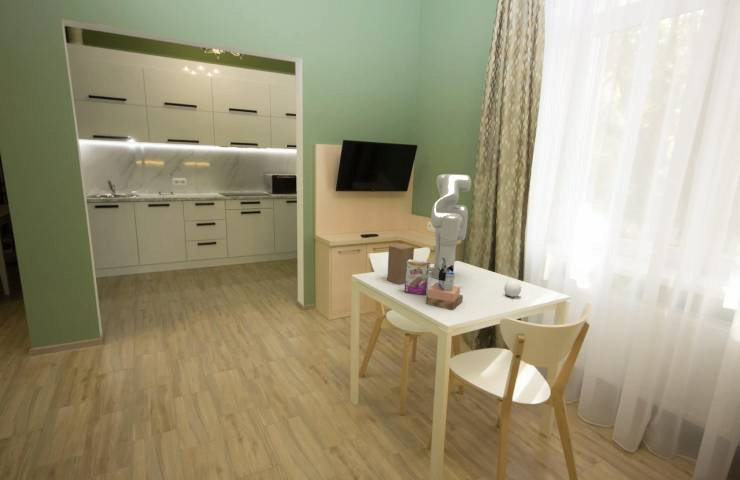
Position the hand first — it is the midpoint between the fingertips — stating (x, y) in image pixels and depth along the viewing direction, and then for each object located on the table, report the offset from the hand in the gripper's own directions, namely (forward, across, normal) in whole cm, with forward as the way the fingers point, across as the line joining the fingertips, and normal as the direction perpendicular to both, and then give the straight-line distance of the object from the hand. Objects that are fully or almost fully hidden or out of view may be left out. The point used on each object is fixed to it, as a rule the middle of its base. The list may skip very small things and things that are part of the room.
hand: (445, 278), depth 176 cm
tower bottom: (+13, 0, 0) cm, 13 cm away
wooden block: (+13, -17, -33) cm, 39 cm away
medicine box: (+5, 0, 0) cm, 5 cm away
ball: (+13, -31, +24) cm, 41 cm away
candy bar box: (+12, -5, -17) cm, 22 cm away
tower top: (+9, 0, 0) cm, 9 cm away
